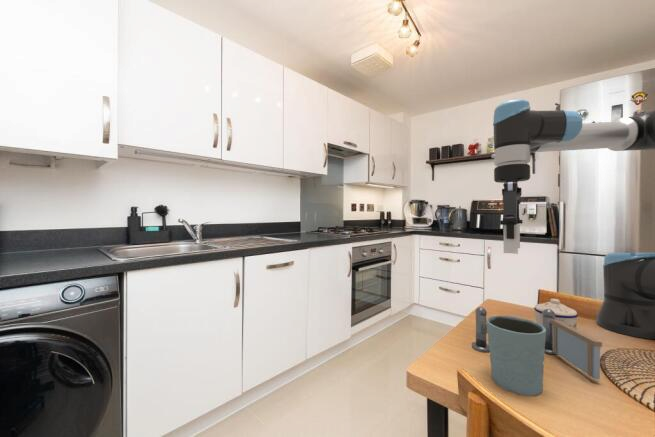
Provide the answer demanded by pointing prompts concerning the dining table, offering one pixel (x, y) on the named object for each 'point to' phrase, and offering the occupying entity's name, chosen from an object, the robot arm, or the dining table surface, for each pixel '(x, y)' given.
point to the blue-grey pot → (517, 354)
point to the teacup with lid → (557, 313)
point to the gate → (577, 348)
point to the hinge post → (548, 330)
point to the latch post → (481, 331)
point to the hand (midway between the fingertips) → (512, 250)
